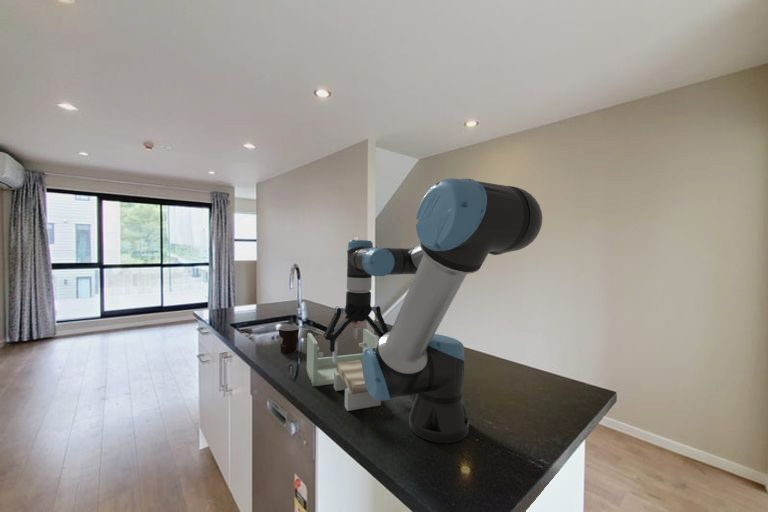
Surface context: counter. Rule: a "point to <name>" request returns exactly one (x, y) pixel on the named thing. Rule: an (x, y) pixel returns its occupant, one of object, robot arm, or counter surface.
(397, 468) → the counter surface
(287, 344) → the coffee mug
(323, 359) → the shelf unit
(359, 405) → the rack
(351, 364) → the stacked rolled towels
